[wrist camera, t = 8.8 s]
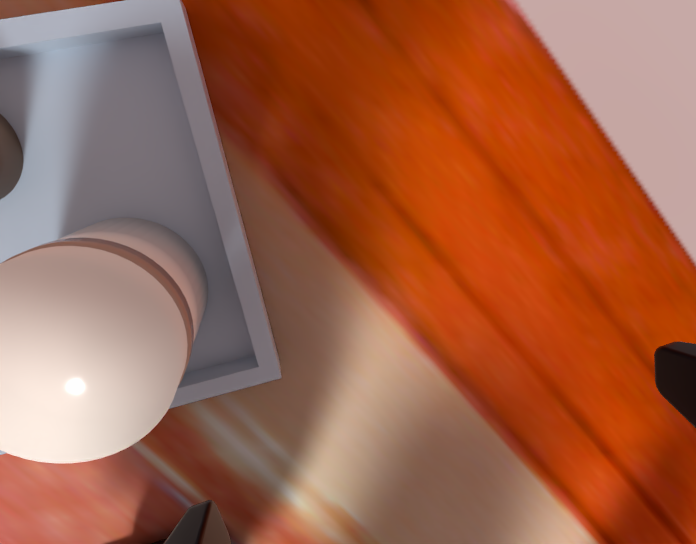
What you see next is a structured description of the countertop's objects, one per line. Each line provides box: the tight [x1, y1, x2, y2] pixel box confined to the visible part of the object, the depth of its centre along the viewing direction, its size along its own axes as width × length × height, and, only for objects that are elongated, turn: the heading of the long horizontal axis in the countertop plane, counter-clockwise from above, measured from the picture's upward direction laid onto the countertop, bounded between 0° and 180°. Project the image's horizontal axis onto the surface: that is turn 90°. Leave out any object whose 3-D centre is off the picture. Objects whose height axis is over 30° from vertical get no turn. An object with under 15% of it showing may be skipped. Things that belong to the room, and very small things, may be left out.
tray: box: [0, 0, 281, 455], centre depth 17 cm, size 15×13×2 cm
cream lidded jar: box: [0, 218, 208, 463], centre depth 15 cm, size 6×6×7 cm
